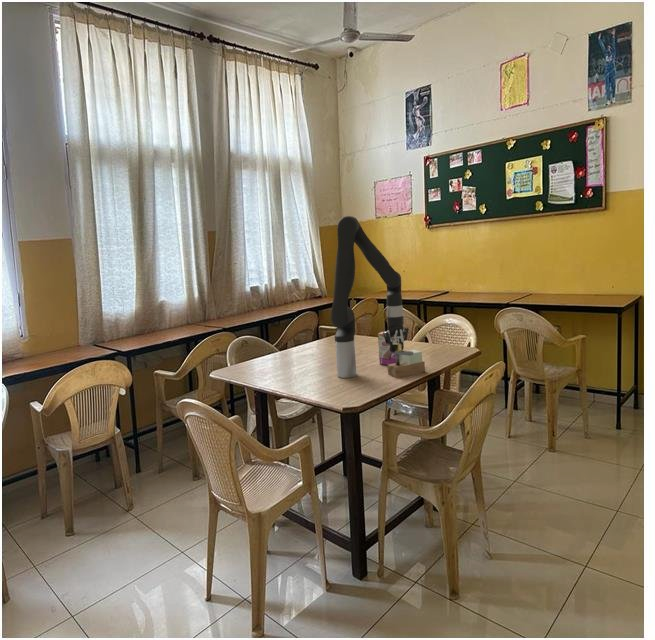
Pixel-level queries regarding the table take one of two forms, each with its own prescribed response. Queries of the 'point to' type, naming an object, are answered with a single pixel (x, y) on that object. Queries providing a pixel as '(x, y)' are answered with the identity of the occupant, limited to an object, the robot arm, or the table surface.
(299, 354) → the table surface
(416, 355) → the pale green block
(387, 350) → the candy bar box
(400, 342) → the robot arm
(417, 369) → the case
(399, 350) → the key
